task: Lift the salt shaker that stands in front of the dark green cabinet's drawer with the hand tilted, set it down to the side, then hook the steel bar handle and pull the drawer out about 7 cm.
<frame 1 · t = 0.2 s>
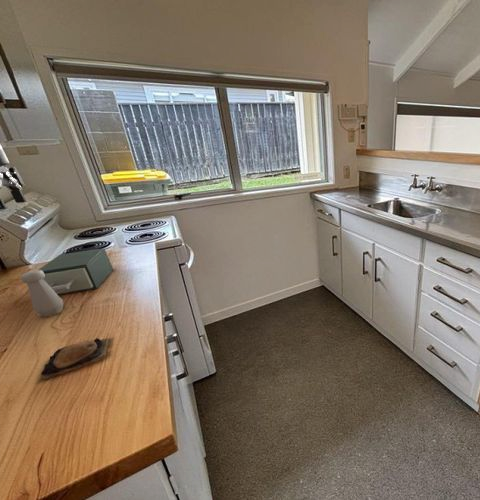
hand: (11, 205, 84), 28 cm above the counter, tool pointing down, fingers open, 8 cm apart
brown and black piece: (78, 359, 63), on the counter
salt shaker: (53, 313, 81), on the counter
drawer: (71, 277, 91), point 4 cm above the counter, slide at 0.0 cm, touching cabinet
cabinet: (83, 282, 97), on the counter
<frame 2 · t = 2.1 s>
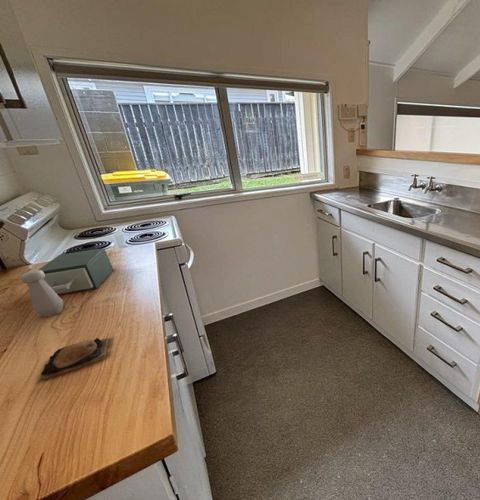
nothing on the counter moved.
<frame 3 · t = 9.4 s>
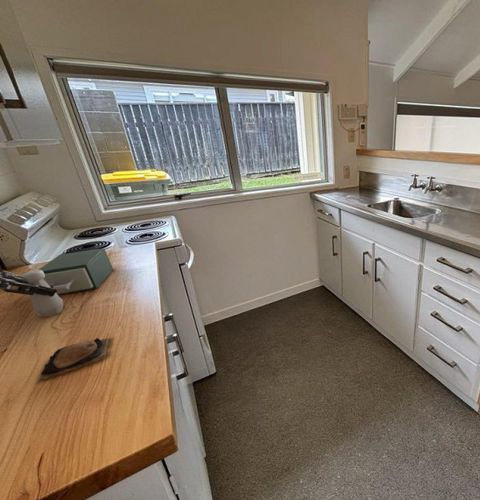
hand: (52, 291, 80), 6 cm above the counter, tool tilted 45°, fingers closed on salt shaker, 3 cm apart
salt shaker: (53, 313, 81), on the counter, touching gripper
everything else where it was.
when the fingers open (6 cm above the counter, at t = 16.1 s): salt shaker stays where it is, on the counter.
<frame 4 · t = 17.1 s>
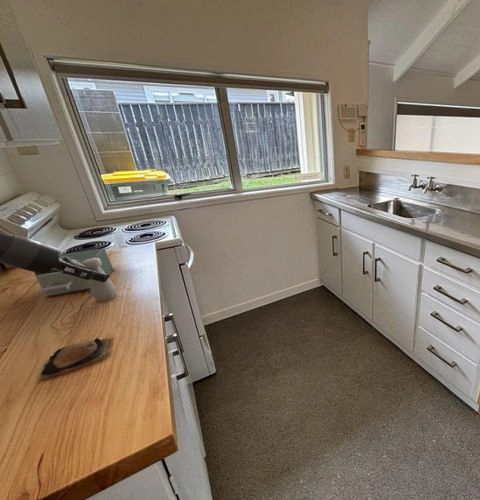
hand: (101, 275, 85), 7 cm above the counter, tool tilted 45°, fingers open, 8 cm apart
salt shaker: (107, 298, 87), on the counter
everything else where it was.
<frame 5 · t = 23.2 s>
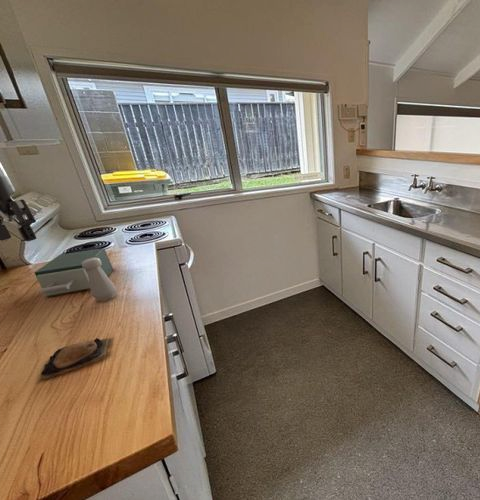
hand: (18, 239, 73), 22 cm above the counter, tool pointing down, fingers open, 8 cm apart
nothing on the counter moved.
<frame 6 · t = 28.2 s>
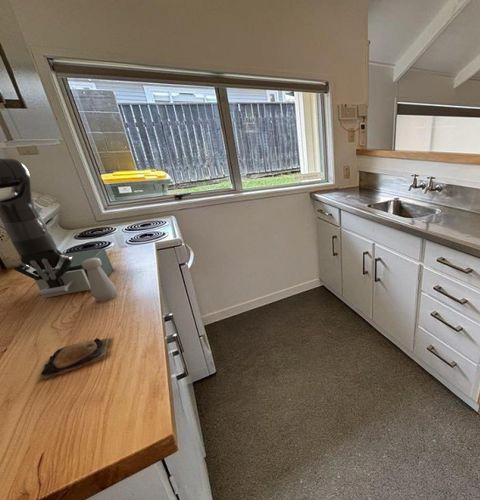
hand: (58, 289, 84), 4 cm above the counter, tool pointing down, fingers closed
drawer: (69, 278, 90), point 4 cm above the counter, slide at 1.1 cm
everything else where it was.
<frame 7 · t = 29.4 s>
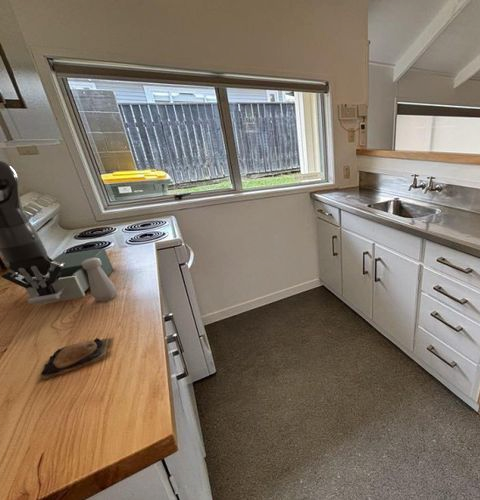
hand: (49, 297, 80), 4 cm above the counter, tool pointing down, fingers closed
drawer: (61, 285, 86), point 4 cm above the counter, slide at 5.7 cm
everything else where it was.
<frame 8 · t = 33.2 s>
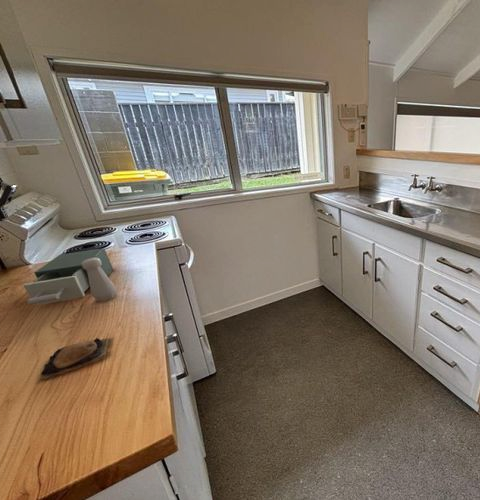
hand: (1, 220, 79), 25 cm above the counter, tool pointing down, fingers closed
nothing on the counter moved.
at the end: drawer slide at 5.8 cm; salt shaker inside the target area (0.1 cm from its centre), on the counter; salt shaker tilted 0° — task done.
